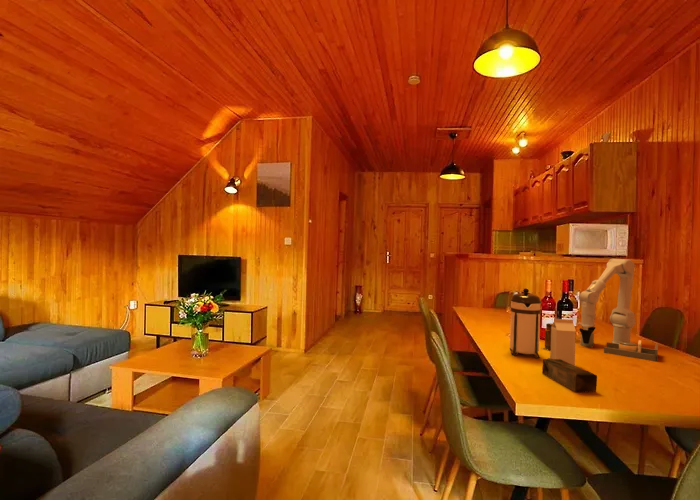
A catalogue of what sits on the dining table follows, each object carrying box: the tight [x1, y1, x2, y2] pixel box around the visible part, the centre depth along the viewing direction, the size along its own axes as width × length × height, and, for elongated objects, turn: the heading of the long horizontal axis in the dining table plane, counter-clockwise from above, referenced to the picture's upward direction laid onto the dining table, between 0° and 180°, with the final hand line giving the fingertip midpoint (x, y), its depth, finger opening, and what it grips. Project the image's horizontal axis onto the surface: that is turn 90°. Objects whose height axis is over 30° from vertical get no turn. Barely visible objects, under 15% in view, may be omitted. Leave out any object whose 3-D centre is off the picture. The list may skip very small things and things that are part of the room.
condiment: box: [541, 322, 553, 351], centre depth 180 cm, size 7×8×12 cm
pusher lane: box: [603, 341, 659, 362], centre depth 175 cm, size 13×20×5 cm, turn 50°
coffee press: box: [509, 288, 542, 359], centre depth 172 cm, size 17×16×30 cm
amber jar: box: [619, 341, 638, 352], centre depth 176 cm, size 7×7×5 cm
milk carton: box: [549, 318, 577, 366], centre depth 156 cm, size 7×7×19 cm
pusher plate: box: [637, 339, 643, 353], centre depth 173 cm, size 10×1×6 cm, turn 140°
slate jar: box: [580, 331, 595, 348], centre depth 189 cm, size 6×6×7 cm
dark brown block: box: [541, 357, 598, 393], centre depth 135 cm, size 8×19×7 cm, turn 6°
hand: (587, 342), depth 189 cm, fingers open, 6 cm apart
